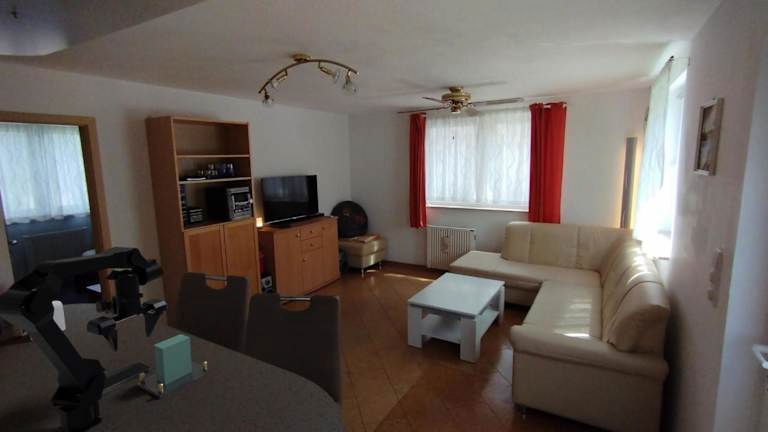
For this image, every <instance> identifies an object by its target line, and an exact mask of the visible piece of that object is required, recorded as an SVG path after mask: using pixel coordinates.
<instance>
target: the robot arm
mask: <svg viewBox="0 0 768 432" xmlns="http://www.w3.org/2000/svg"><path fill="white" fill-rule="evenodd" d="M109 269H112V270H111V271H110V273H109V274H108V275H106V277H105V280H106V281H113V287H114V295H112V297H111V300H110V301H107V300H106V299H101V300H99V301H96V302H95V308H96V312H97V313H98V314H101V313H104V314H105V315H107V314H112V315H115V316H113V317H109V316H104V315H103V316H100V317H97V318H94V319H90V320H88V322H87V323H86V326H85V327H86V332H88V333H91V334H94V335H97V336H103V339H105V341H106V342H107V344H108V345H109V347H110V348H111V350H112V351H113V352H115V353H116V352H118V346H119V345H118V343H119V341H118V339H119V338H118V336H119V334H118V330H117V329H116V328H117V324H118V323H121V322H124V321H127V320H130V319H132V318H135V317H137V316H140V315H142V316H143V318H144V330H145V335H146V337H147V338H149V337H151V336H152V333H153V331H154V329H155V326H156V324H157V322H158V321H159V319H160V317H161V316H162V315H164V312H165V311H167V310H168V303H167V302H166V301H165V300H162V299H158V298H156V297H155V298H152V299H149V300H146V301H143V302H142V300H141V298H144V293H143V292H141V289H140V286H142V287H143V286H146V285H149V284H151V283H153V282H156V281H158V280H160V279H161V278H163V275H164V269H163V268H162V266H161V264H159V263H158V262H157V259H156V258H147V259H146V258H145V257H144V256H143V255H142V253H141V251H140V249H139V248H137V247H129V246H128V247H125V246H113V247H110V248H107V249H104V250H103V251H101V252H99V253H96V254H90V255H89V254H88V255H83V256H76V257H70V258H64V259H63V258H62V259H57V260H44V261H42V262H40V263H38V264H37V265H36V266H35V267H34V268H33V270H32V271H30V272H29V273H27V274H25V275H24V276H23V277H21V278H19V279H18V280H16V281H14V282H13V283H12V284H11V286H10V287H8V288H7V290H5V291H4V292H2V293H1V294H0V318H2V319H3V320H5V321H6V322H8V323H9V324H11V325H13V326H15V327H17V328H19V329H20V330H23V331H25V332H26V334H27V335H28V336H29V338H30V337H31V338H32V340H33V342H34V343H35V344H36V347H38V349H40V351H41V352H42V353H43V354H44V356H46V358H47V359H48V360H49V361H50V363H51V364H52V365H53V366H54V367H55V369H56V370H57V371H58V375H57V382H58V387H57V388H56V390H55V392H54V393H53V395H52V396H51V398H50V400H49V402H50V405H52V407H55V408H56V407H57V408H58V407H59V408H58V414H59V420H60V422H59V423H60V426H58V427H57V431H58V432H86V431H87V430H89V429H91V428H93V427H94V426H96V425H97V424H100V423H101V422H102V421H103V418H102V417H100V415H101V411H100V403H99V401H100V400H101V399H102V398H103V397H102V396H103V394H102V392H103V388H104V383H105V379H106V376H107V375H106V373H105V372H106V370H107V369H106V368H104V367H103V366H102V364H101V361H100V360H99V359H97V358H88V357H83V356H82V355H81V354H80V352H79V351H78V350H77V349H76V347H75V346H74V345H73V343H72V342H71V341H70V338H68V337H67V336H66V334H65V332H64V330H63V331H62V330H61V329H60V327H59V326H58V325H57V323H56V322H55V320H54V319H53V316H54V306H53V303H52V302H53V301H55V299H56V298H57V297H58V296H59V295H60V293H61V289H62V286H63V283H64V280H65V279H66V278H67V277H73V276H78V275H83V274H88V273H93V272H99V271H103V270H109ZM117 269H121V270H117ZM43 283H44V285H43V286H42V288H41V289H40V290H34V289H35V288H37V287H38V286H40V285H42V284H43ZM31 338H30V339H31ZM32 340H31V341H32Z"/></svg>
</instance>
